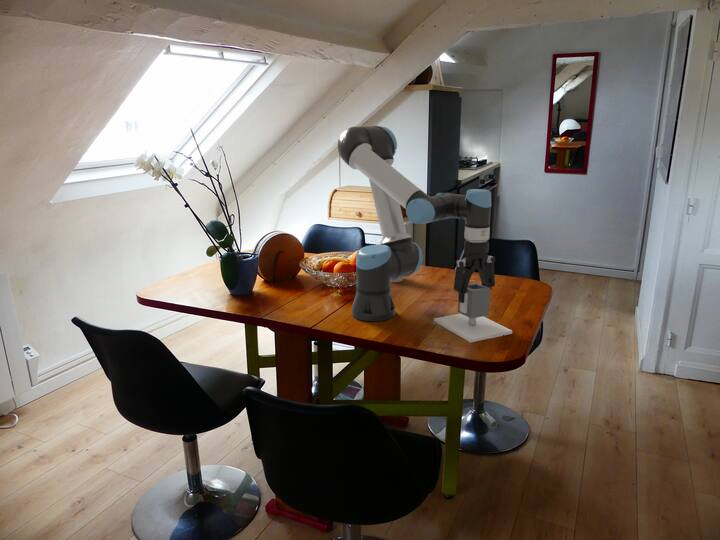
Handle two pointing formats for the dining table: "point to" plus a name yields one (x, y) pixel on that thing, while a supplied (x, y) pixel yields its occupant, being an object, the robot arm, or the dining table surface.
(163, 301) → the dining table surface
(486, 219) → the robot arm
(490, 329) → the base plate
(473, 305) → the block
